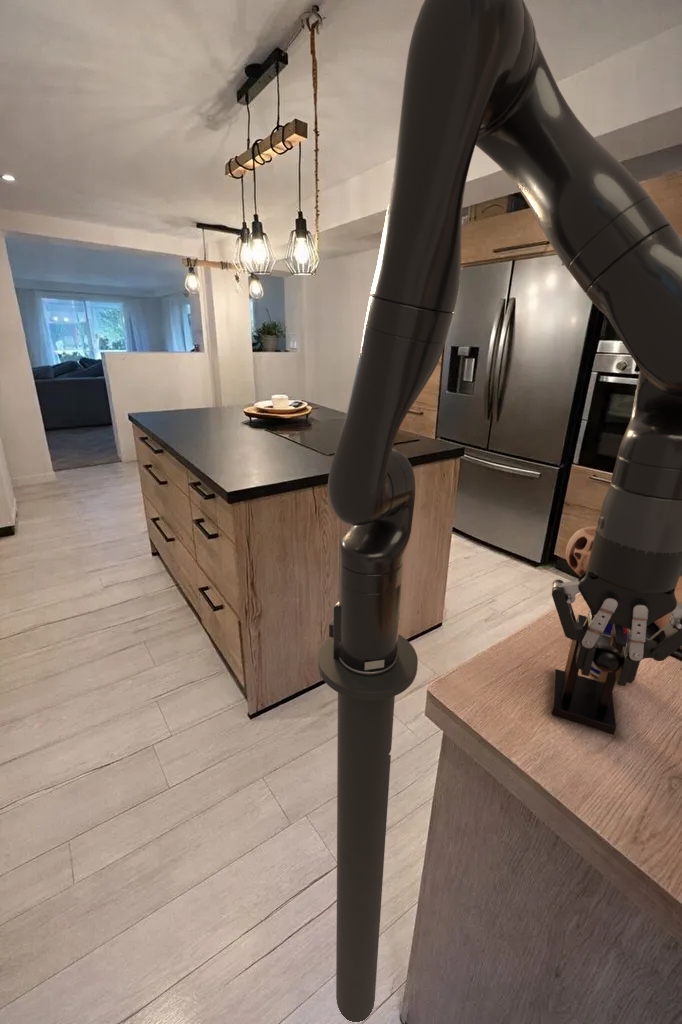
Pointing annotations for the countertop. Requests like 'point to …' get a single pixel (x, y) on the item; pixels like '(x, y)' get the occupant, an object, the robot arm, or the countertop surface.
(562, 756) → the countertop surface
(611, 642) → the bracket
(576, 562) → the sculpture
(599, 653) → the lever
